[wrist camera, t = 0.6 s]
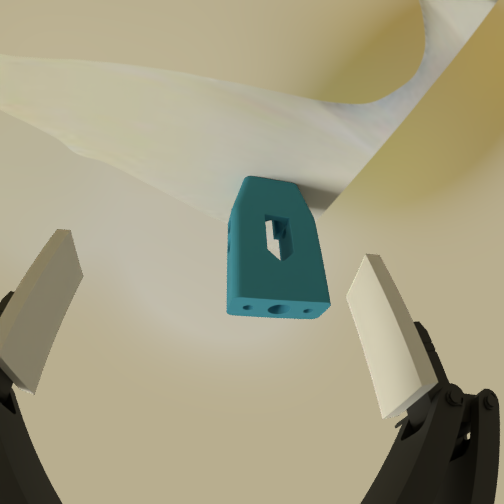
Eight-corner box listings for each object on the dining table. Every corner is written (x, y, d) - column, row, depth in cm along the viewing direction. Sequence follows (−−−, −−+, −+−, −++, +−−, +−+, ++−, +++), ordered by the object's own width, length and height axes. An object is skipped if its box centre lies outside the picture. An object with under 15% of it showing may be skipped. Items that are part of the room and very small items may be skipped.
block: (309, 186, 45) (333, 302, 34) (298, 207, 49) (316, 319, 38) (233, 173, 43) (232, 296, 31) (227, 196, 47) (225, 314, 35)
